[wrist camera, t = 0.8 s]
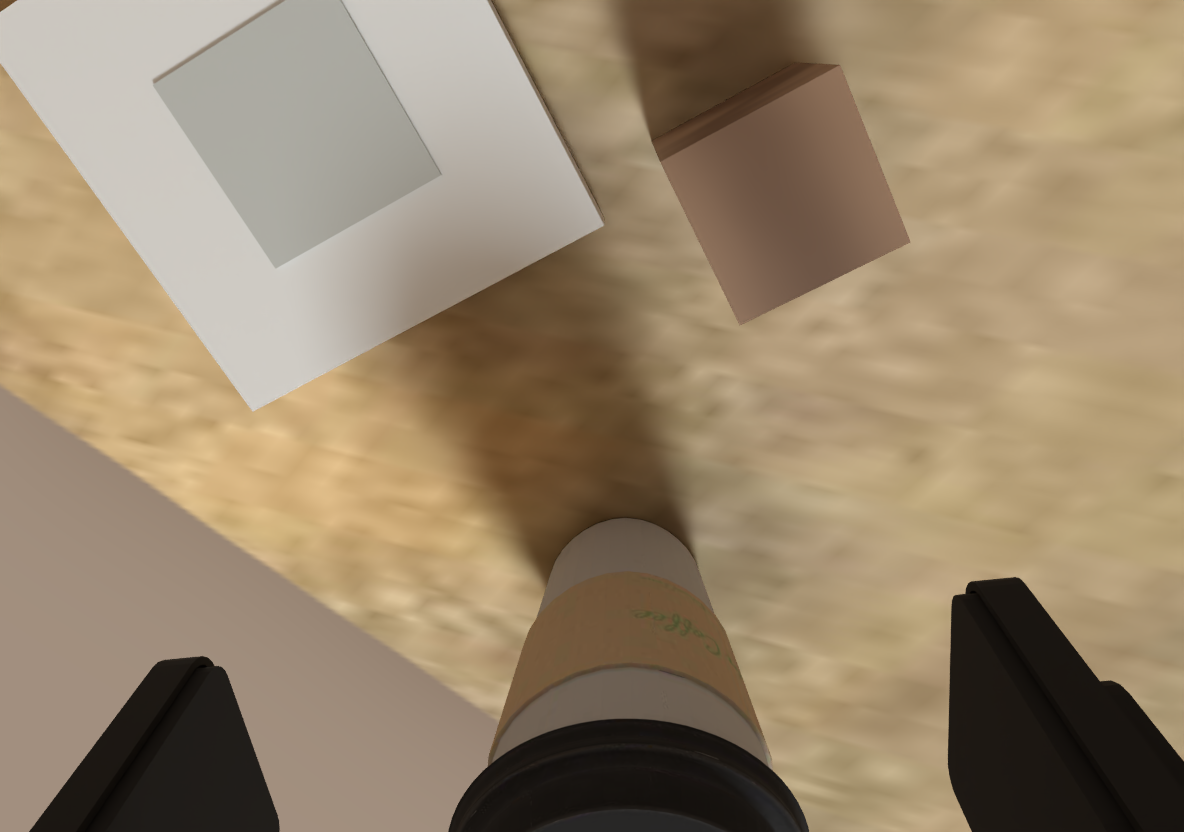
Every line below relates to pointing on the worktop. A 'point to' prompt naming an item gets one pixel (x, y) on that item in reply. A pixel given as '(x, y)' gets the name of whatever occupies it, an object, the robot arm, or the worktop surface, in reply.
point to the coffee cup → (627, 706)
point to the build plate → (304, 162)
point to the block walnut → (782, 187)
